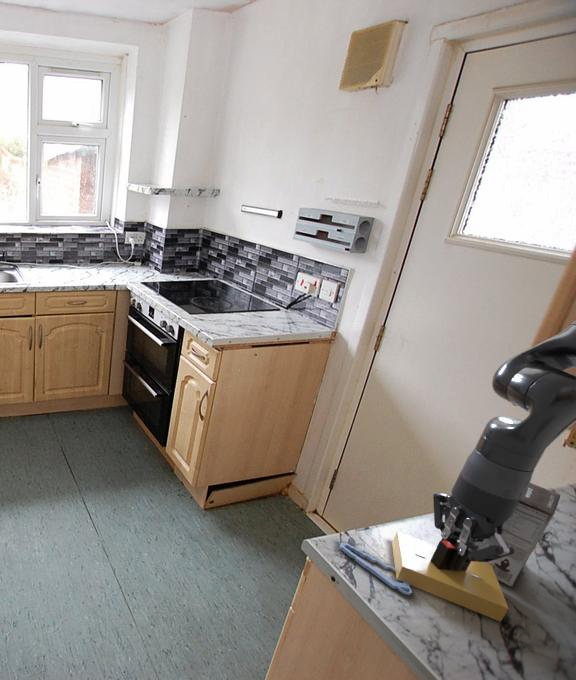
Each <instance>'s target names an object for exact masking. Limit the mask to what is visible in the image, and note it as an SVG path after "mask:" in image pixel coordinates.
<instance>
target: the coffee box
mask: <svg viewBox="0 0 576 680" xmlns="http://www.w3.org/2000/svg"><path fill="white" fill-rule="evenodd" d="M560 499H561V494H560V493H558V492H555V491H553V490H550V489H547V488H544V487H541V486H540V485H538V484H535V483H532V482H530V483H529V485H528V487H527V489H526V491H525V493H524V494H523V496H522V498H521V500H520V502H519V503H518V505H517V507H516V509H515V510H514V512H513V514H512V516H511V517H510V518H509V519H508V520H507V521H506V522H504V524H503V533H502V535H501V537H502V539H503V541H504V542H505V544H506V546H511V547H513V549H514V554H512V555H508V556H505V557H502V558H499V559H496V560H493V561H490V562H483V563H485V564H488V565H491V566H492V567H493V570H494V572H495V575H496V577H497V580H498V582H499V581H500V582H501V583H503V584H505V585H507V586H509V587H513V586H514V583H515V582H516V580H517V579H518V577H519V575H520V574H521V572H522V570H523V568H524V566H526V563H527V562H528V560H529V558H530V556H531V555H532V554H533V552H534V550H535V549H536V546H537V545H538V543H539V541H540V540H541V538H542V536H543V534H544V532H545V531H546V529H547V527H548V525H549V524H550V523H551V521H552V519H553V517H554V515H555V513H556V510H557V508H558V505H559V502H560ZM490 541H491V538H488V539H487V541H486V544H488V543H489V542H490ZM486 544H485V545H484V546H482V547H481V548H480V549H483V548H486V547H487V546H486Z"/></svg>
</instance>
